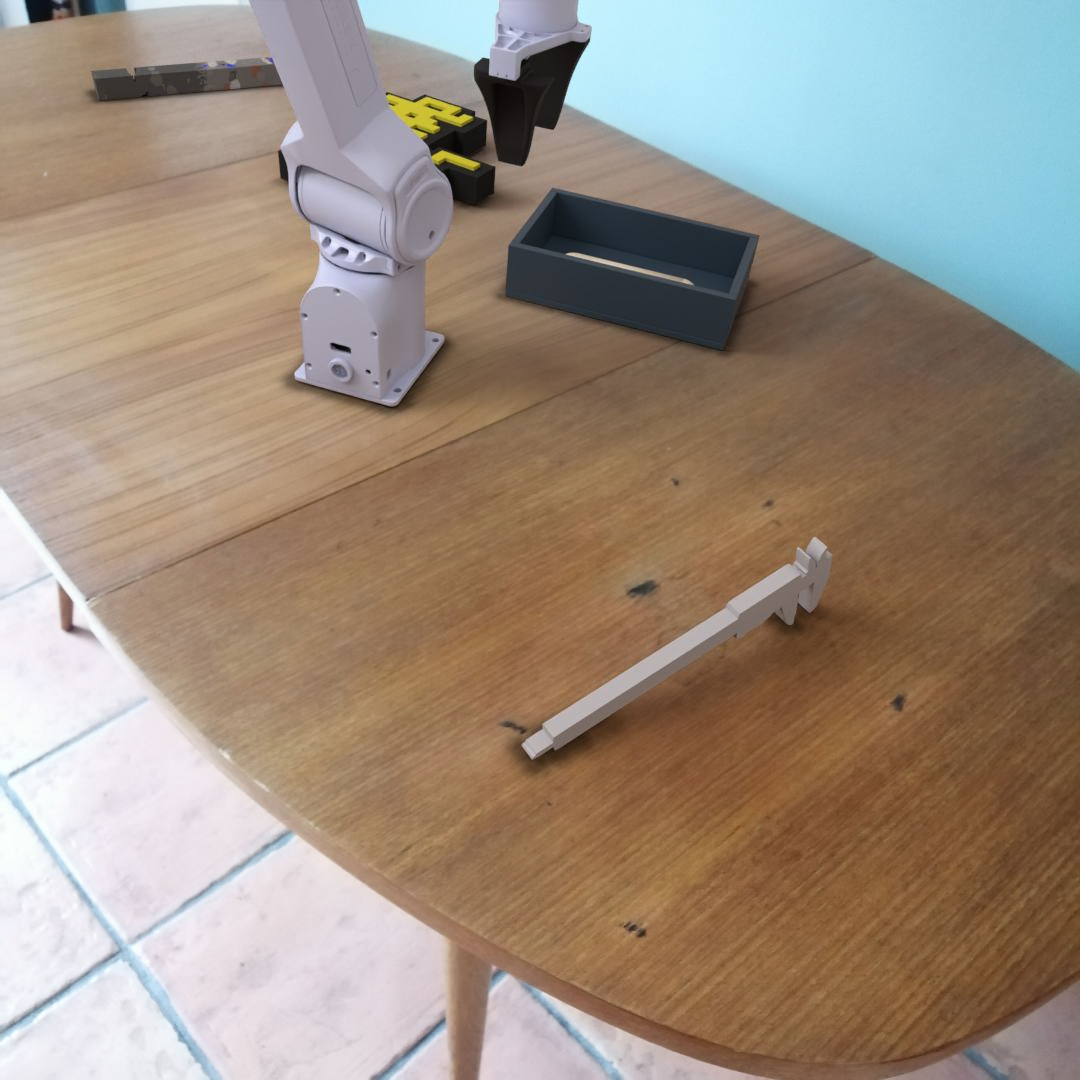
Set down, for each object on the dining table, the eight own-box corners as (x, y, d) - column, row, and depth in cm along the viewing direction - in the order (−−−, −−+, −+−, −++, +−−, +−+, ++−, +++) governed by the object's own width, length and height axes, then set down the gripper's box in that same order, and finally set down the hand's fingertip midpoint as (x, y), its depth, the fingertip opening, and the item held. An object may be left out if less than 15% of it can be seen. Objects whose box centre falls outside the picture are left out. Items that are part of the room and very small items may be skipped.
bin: (723, 350, 80) (735, 299, 77) (504, 296, 83) (508, 244, 80) (747, 283, 88) (759, 234, 84) (547, 235, 91) (552, 187, 88)
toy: (268, 144, 92) (399, 83, 105) (272, 178, 94) (399, 114, 107) (430, 203, 86) (547, 131, 99) (429, 238, 89) (544, 163, 101)
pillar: (91, 70, 103) (284, 55, 110) (95, 92, 105) (286, 76, 112) (94, 78, 102) (289, 63, 109) (99, 100, 103) (291, 83, 111)
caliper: (801, 601, 61) (831, 526, 56) (814, 613, 60) (845, 538, 56) (520, 748, 52) (530, 672, 47) (532, 764, 51) (543, 688, 47)
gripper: (566, -11, 64) (547, 191, 74) (624, -63, 75) (600, 121, 84) (463, -31, 66) (457, 170, 75) (534, -79, 76) (521, 104, 85)
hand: (527, 143), depth 80 cm, fingers open, 7 cm apart
